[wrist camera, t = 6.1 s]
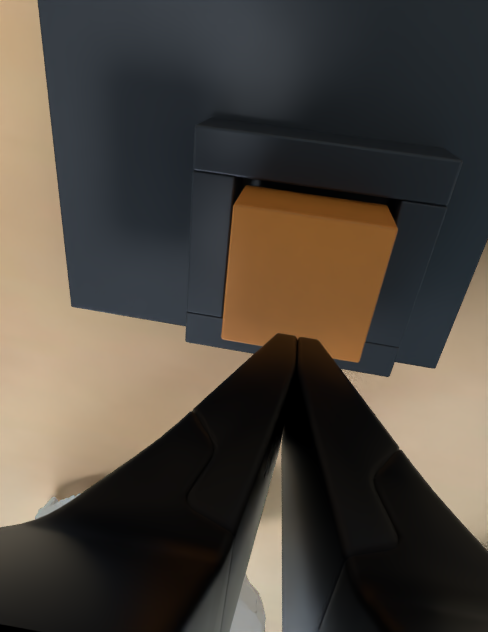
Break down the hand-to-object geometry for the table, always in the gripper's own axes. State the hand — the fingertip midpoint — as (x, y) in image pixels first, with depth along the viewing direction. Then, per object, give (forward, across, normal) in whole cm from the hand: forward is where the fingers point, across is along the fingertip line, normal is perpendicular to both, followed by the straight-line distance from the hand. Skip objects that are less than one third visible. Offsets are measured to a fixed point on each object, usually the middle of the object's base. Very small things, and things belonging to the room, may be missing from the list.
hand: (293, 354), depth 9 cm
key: (+5, 0, 0) cm, 5 cm away
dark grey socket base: (+9, +2, -2) cm, 9 cm away
